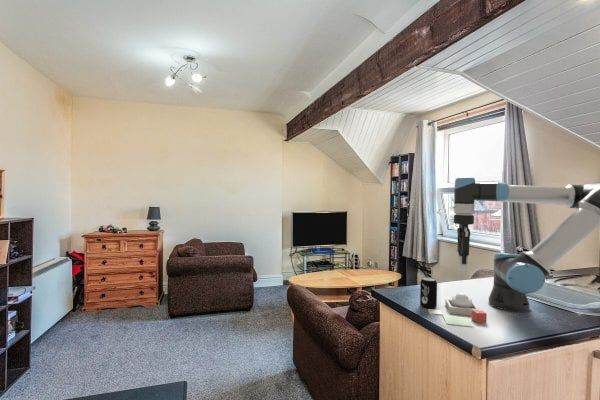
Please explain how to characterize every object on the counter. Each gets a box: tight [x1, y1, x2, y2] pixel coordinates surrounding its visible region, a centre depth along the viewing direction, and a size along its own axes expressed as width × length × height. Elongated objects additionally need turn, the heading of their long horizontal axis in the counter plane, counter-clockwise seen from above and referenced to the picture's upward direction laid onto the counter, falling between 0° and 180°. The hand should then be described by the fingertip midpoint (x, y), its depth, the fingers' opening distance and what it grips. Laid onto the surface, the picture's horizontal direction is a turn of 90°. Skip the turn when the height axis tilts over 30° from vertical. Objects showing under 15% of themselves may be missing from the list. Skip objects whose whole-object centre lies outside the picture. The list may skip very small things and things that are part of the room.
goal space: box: [442, 314, 474, 328], centre depth 121 cm, size 9×9×1 cm
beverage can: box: [419, 276, 438, 310], centre depth 137 cm, size 7×7×12 cm
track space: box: [427, 308, 444, 316], centre depth 131 cm, size 5×5×1 cm
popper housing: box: [444, 298, 480, 317], centre depth 134 cm, size 11×11×2 cm
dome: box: [451, 292, 473, 308], centre depth 134 cm, size 8×8×5 cm
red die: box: [471, 309, 488, 324], centre depth 122 cm, size 4×4×4 cm
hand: (462, 270), depth 134 cm, fingers open, 3 cm apart
